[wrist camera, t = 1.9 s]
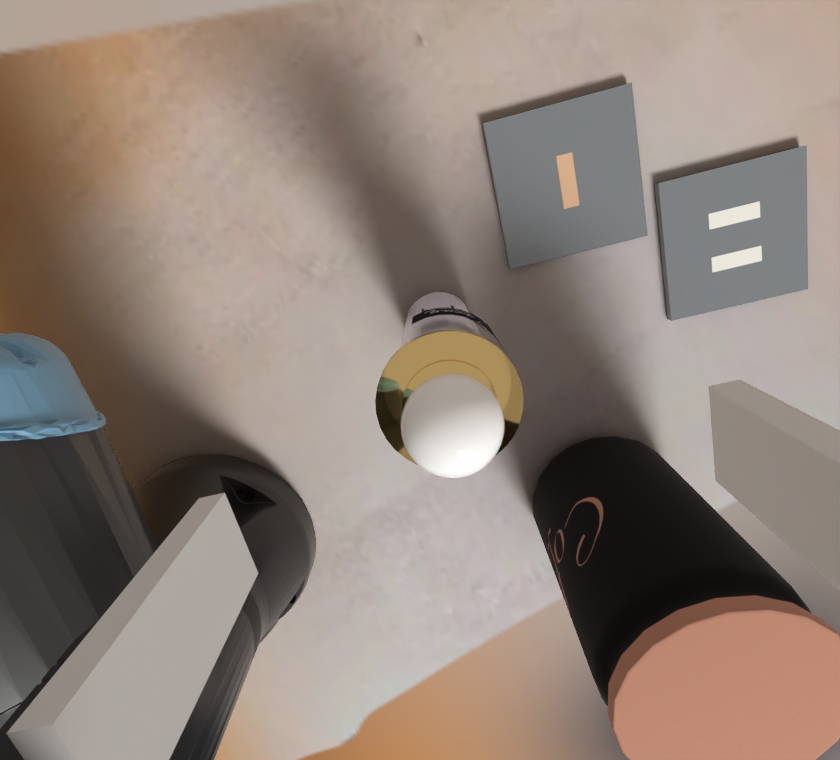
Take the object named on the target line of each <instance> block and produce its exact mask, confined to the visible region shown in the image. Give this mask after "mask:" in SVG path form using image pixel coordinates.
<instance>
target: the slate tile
mask: <svg viewBox="0 0 840 760" xmlns="http://www.w3.org/2000/svg"><path fill="white" fill-rule="evenodd" d="M482 126H483V132H484V137H485V142H486V147H487V153H488V158H489V163H490V169H491V174H492V179H493V185H494V190H495V195H496V200H497V206H498V211H499V216H500V222H501V227H502V232H503V238H504V243H505V248H506V253H507V259H508V264H509V269H514V268H518V267H522V266H526V265H531V264H535V263H539V262H543V261H547V260H551V259H555V258H559V257H563V256H567V255H571V254H575V253H579V252H583V251H587V250H591V249H595V248H599V247H603V246H607V245H611V244H615V243H619V242H623V241H627V240H631V239H635V238H639V237H643V236H647V226H646V216H645V206H644V197H643V187H642V177H641V168H640V158H639V148H638V139H637V129H636V120H635V110H634V100H633V91H632V83H629V84H625V85H621V86H618V87H614V88H610V89H607V90H603V91H599V92H596V93H592V94H588V95H585V96H581V97H578V98H574V99H570V100H567V101H563V102H559V103H556V104H552V105H548V106H545V107H541V108H537V109H534V110H530V111H526V112H523V113H519V114H515V115H512V116H508V117H504V118H501V119H497V120H494V121H490V122H486V123H483V125H482Z"/></svg>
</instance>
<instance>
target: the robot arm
mask: <svg viewBox="0 0 840 760" xmlns="http://www.w3.org/2000/svg"><path fill="white" fill-rule="evenodd" d="M709 397H710V410H711V424H712V437H713V451H714V464H715V477H716V481H717V482H718V483H719V484H720V485H721V486H723V487H724V488H725V489H726V490H727V491H728V492H729V493H730V494H731V495H733V496H734V497H735V498H736V499H737V500H738V501H739V502H741V504H743V505H744V506H745V507H746V508H747V509H748V510H749V511H750V512H752V513H753V514H754V515H755V516H756V517H757V518H758V519H759V520H760V521H761V522H763V523H764V524H765V525H766V526H767V527H768V528H769V529H771V530H772V531H773V532H774V533H775V534H776V535H777V536H778V537H779V538H780V539H781V540H783V541H784V542H785V543H786V544H787V545H788V546H789V547H790V548H791V549H793V550H794V551H795V552H796V553H797V554H798V555H799V556H800V557H802V558H803V559H804V560H805V561H806V562H807V563H808V564H809V565H810V566H811V567H813V568H814V569H815V570H816V571H817V572H818V573H819V574H820V575H822V576H823V577H824V578H825V579H826V580H827V581H828V582H829V583H830V584H831V585H833V586H834V587H835V588H836V589H837V590H838V591H839V592H840V431H839V430H837V429H835V428H833V427H832V426H830V425H828V424H826V423H824V422H822V421H820V420H818V419H816V418H814V417H812V416H810V415H808V414H806V413H804V412H802V411H800V410H798V409H796V408H794V407H792V406H790V405H788V404H786V403H784V402H782V401H781V400H779V399H777V398H775V397H773V396H771V395H769V394H767V393H765V392H763V391H761V390H759V389H757V388H755V387H753V386H751V385H749V384H747V383H745V382H743V381H741V380H736V381H731V382H727V383H722V384H718V385H713V386H709ZM106 423H107V422H106V419H105V417H104V415H103V414H102V413H101V412H99V411H96V409H95V407H94V405H93V404H92V402H91V400H90V398H89V396H88V394H87V392H86V391H85V389H84V387H83V385H82V383H81V381H80V379H79V377H78V376H77V374H76V372H75V370H74V368H73V366H72V364H71V363H70V361H69V359H68V358H67V356H66V355H65V354H64V353H63V352H62V351H61V350H60V349H59V348H58V347H57V346H56V345H54V344H53V343H51V342H49V341H48V340H45V339H43V338H41V337H37V336H34V335H30V334H25V333H4V334H0V760H214V758H215V756H216V753H217V751H218V748H219V745H220V743H221V740H222V738H223V735H224V732H225V730H226V727H227V725H228V722H229V720H230V717H231V714H232V712H233V709H234V707H235V704H236V701H237V699H238V696H239V694H240V691H241V689H242V686H243V683H244V681H245V678H246V676H247V673H248V671H249V668H250V665H251V662H252V660H253V657H254V655H255V652H256V650H257V647H258V645H259V643H260V642H261V641H262V640H263V639H264V638H265V637H266V636H267V635H268V633H269V632H270V631H271V630H272V629H273V627H274V626H275V625H276V623H277V622H278V620H279V619H280V618H281V617H283V616H284V615H285V614H286V613H287V612H288V611H289V610H290V609H291V608H292V606H293V605H294V604H295V603H296V601H297V600H298V598H299V597H300V595H301V594H302V592H303V590H304V588H305V586H306V583H307V581H308V578H309V575H310V571H311V568H312V565H313V562H314V558H315V551H316V538H315V532H314V527H313V524H312V521H311V518H310V516H309V513H308V511H307V509H306V508H305V506H304V504H303V503H302V501H301V500H300V498H299V497H298V496H297V495H296V493H295V492H294V491H293V490H292V489H291V488H290V487H289V486H288V485H287V484H286V483H285V482H284V481H282V480H281V479H280V478H279V477H277V476H276V475H274V474H273V473H271V472H270V471H268V470H266V469H264V468H262V467H261V466H258V465H256V464H254V463H251V462H249V461H246V460H243V459H239V458H235V457H230V456H224V455H196V456H190V457H185V458H182V459H178V460H176V461H173V462H171V463H168V464H166V465H165V466H163V467H161V468H159V469H158V470H156V471H155V472H154V473H153V474H151V475H150V476H149V477H148V478H147V479H146V480H145V481H144V482H143V483H142V484H140V485H139V486H138V487H137V488H136V489H135V490H134V491H133V492H132V490H131V487H130V485H129V483H128V481H127V479H126V477H125V475H124V472H123V470H122V468H121V466H120V463H119V461H118V459H117V457H116V455H115V452H114V450H113V448H112V446H111V443H110V441H109V439H108V437H107V434H106V432H105V430H104V428H103V426H104V425H105V424H106Z"/></svg>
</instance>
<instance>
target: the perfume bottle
mask: <svg viewBox="0 0 840 760" xmlns="http://www.w3.org/2000/svg"><path fill="white" fill-rule="evenodd" d="M473 316H474V317H473ZM480 320H481V319H480V318H478V317H476V316H475V315H473V314H471V313H470V312H469V310H468V308H467V307H466V305H465V304H464V303H463V302H462V301H461V300H460V299H459V298H457V297H456V296H454V295H452V294H449V293H444V292H434V293H430V294H427V295H425V296H422V297H421V298H420V299H418V300H417V301H416V302H415V303H414V304H413V305H412V307H411V308H410V310H409V312H408V315H407V318H406V323H405V328H404V334H403V339H402V344H401V347H400V348H399V349H398V350H397V352H396V353H395V354H394V355H393V356H392V357H391V358H390V360H389V361H388V363H387V365H386V366H385V368H384V369H383V372H382V375H381V377H380V380H379V383H378V387H377V394H376V414H377V418H378V421H379V424H380V428H381V429H382V431H383V433H384V435H385V437H386V439H387V440H388V441H389V443H390V444H391V445H392V446H393V448H394V449H395V450H396V451H398V452H399V453H400V454H401V455H402V456H404V457H405V458H406V459H408V460H410V461H412V462H413V463H415V464H417V465H419V466H420V467H422V468H423V469H424V470H426V471H428V472H430V473H432V474H435V475H438V476H441V477H448V478H459V477H464V476H468V475H471V474H473V473H476V472H478V471H479V470H481V469H482V468H484V467H485V466H486V465H488V464H489V463H490V462H491V461H492V460H493V458H494V457H495V456H496V455H497V454H498V453H499V452H500V451H501V450H502V449H503V448H504V447H505V446H507V444H508V443H509V441H510V440H511V439H512V437H513V436H514V435H515V432H516V430H517V428H518V426H519V424H520V421H521V417H522V412H523V401H524V395H523V389H522V384H521V380H520V378H519V376H518V373H517V371H516V369H515V367H514V365H513V364H512V363H511V361H510V360H509V358H508V357H507V355H506V354H505V353H504V352H503V351H502V350H501V349H500V348H499V347H498V346H497V345H496V344H494V343H493V342H491V341H489V340H488V339H486V338H484V337H483V336H481V334H480V332H479V330H478V328H477V326H476V324H475V323H476V322H477V324H478V323H479V324H481V325H482V326H484V327H485V328H486V329H487V330H488V331H489V332H490V333H491V334H492V335H494V333H493V332H492V330H490V327H489V326H488V325H486V324H485V323H484V322H483V321H482V320H481V321H480ZM475 321H476V322H475ZM481 322H482V323H481ZM479 324H478V325H479ZM479 326H480V325H479ZM487 326H488V327H487ZM482 328H483V327H482ZM483 329H484V328H483ZM488 331H487V332H488ZM490 333H489V334H490ZM494 336H495V335H494ZM495 337H496V336H495ZM496 339H497V338H496ZM497 340H498V339H497ZM498 342H499V341H498ZM500 345H501V344H500ZM501 347H502V346H501Z"/></svg>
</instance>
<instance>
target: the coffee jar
mask: <svg viewBox="0 0 840 760" xmlns="http://www.w3.org/2000/svg"><path fill="white" fill-rule="evenodd" d="M533 509H534V518H535V521H536V524H537V526H538V529H539V532H540V534H541V537H542V540H543V543H544V545H545V548H546V551H547V553H548V556H549V559H550V562H551V564H552V567H553V570H554V572H555V575H556V578H557V581H558V583H559V586H560V589H561V591H562V594H563V597H564V599H565V602H566V605H567V608H568V610H569V613H570V616H571V618H572V621H573V624H574V627H575V629H576V631H577V635H578V637H579V640H580V643H581V646H582V648H583V651H584V654H585V656H586V659H587V662H588V664H589V667H590V670H591V672H592V675H593V678H594V680H595V682H596V685H597V687H598V690H599V692H600V694H601V697H602V699H603V700H604V702H605V703H606V705H607V706H608V715H609V719H610V722H611V726H612V728H613V731H614V733H615V735H616V738H617V740H618V742H619V745H620V747H621V750H622V752H623V753H624V754H625V755H626V756H627V757H628V758H629V759H630V760H816V759H817V758H818V757H819V756H820V755H822V754H823V753H824V752H825V751H826V750H828V749H829V748H830V747H831V746H832V745H833V744H834V743H836V742H837V741H838V739H839V738H840V636H839V635H838V633H837V632H836V631H835V630H834V629H833V628H831V627H830V626H829V625H828V624H827V623H826V622H824V621H823V620H822V619H820V618H818V617H817V616H815V615H813V614H812V613H811V611H810V610H809V608H808V607H807V606H806V604H805V603H804V602H803V601H802V599H801V598H800V597H799V596H798V594H797V593H796V592H795V590H794V589H793V588H792V587H791V585H790V584H789V583H787V582H786V581H785V580H784V579H783V578H782V577H781V576H780V575H779V574H778V573H777V572H776V571H775V570H774V569H773V568H772V567H771V566H770V565H769V564H768V563H767V562H766V561H765V560H764V559H763V558H762V557H761V556H760V555H759V554H758V553H757V552H756V551H755V550H754V549H753V548H752V547H751V546H750V545H749V544H748V543H747V542H746V541H745V540H744V539H743V538H742V537H741V536H740V535H739V534H738V533H737V532H736V531H735V530H734V529H733V528H732V527H731V526H730V525H729V524H728V523H727V522H726V521H725V520H724V519H723V518H722V517H721V516H720V515H719V514H718V513H717V512H716V511H715V510H714V509H713V508H712V507H711V506H710V505H709V504H708V503H707V502H706V501H705V500H704V499H703V498H702V497H701V496H700V495H699V494H698V493H697V492H696V491H695V490H694V489H693V488H692V487H691V486H690V485H689V484H688V483H687V482H686V481H685V480H684V479H683V478H682V477H681V476H680V475H679V474H678V473H677V472H676V471H675V470H674V469H673V468H672V467H671V466H670V465H669V464H668V463H667V462H666V461H665V460H664V459H663V458H662V457H661V456H660V455H659V454H658V453H657V452H655V451H654V450H652V449H650V448H649V447H647V446H645V445H644V444H642V443H640V442H639V441H634V440H630V439H625V438H620V437H615V436H613V437H600V438H591V439H588V440H585V441H583V442H580V443H577V444H575V445H572V446H570V447H569V448H567V449H566V450H565V451H563V452H562V453H560V454H559V455H558V456H556V457H555V458H554V459H553V460H552V461H551V462H550V464H549V465H548V466H547V468H546V469H545V470H544V472H543V473H542V474H541V476H540V478H539V481H538V484H537V487H536V490H535V493H534V496H533Z"/></svg>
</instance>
